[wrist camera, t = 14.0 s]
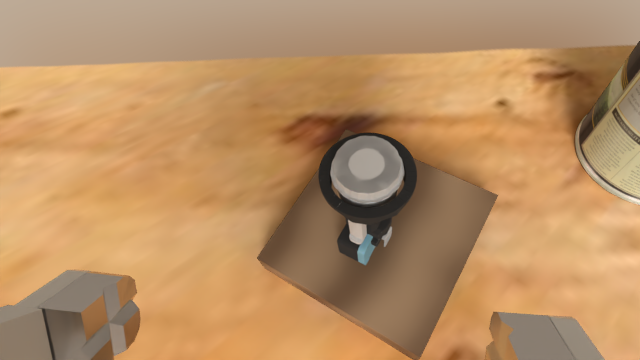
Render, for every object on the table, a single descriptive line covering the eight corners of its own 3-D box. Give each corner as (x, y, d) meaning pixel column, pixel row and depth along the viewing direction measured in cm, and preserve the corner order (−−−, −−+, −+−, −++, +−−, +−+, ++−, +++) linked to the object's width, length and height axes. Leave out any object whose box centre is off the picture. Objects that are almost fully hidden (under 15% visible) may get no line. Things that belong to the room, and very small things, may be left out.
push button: (362, 176, 33) (357, 92, 24) (425, 204, 31) (445, 125, 22) (320, 248, 30) (297, 183, 22) (386, 282, 29) (391, 227, 20)
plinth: (264, 268, 33) (256, 258, 31) (347, 145, 37) (346, 129, 35) (416, 361, 28) (420, 357, 26) (490, 209, 33) (498, 195, 31)
